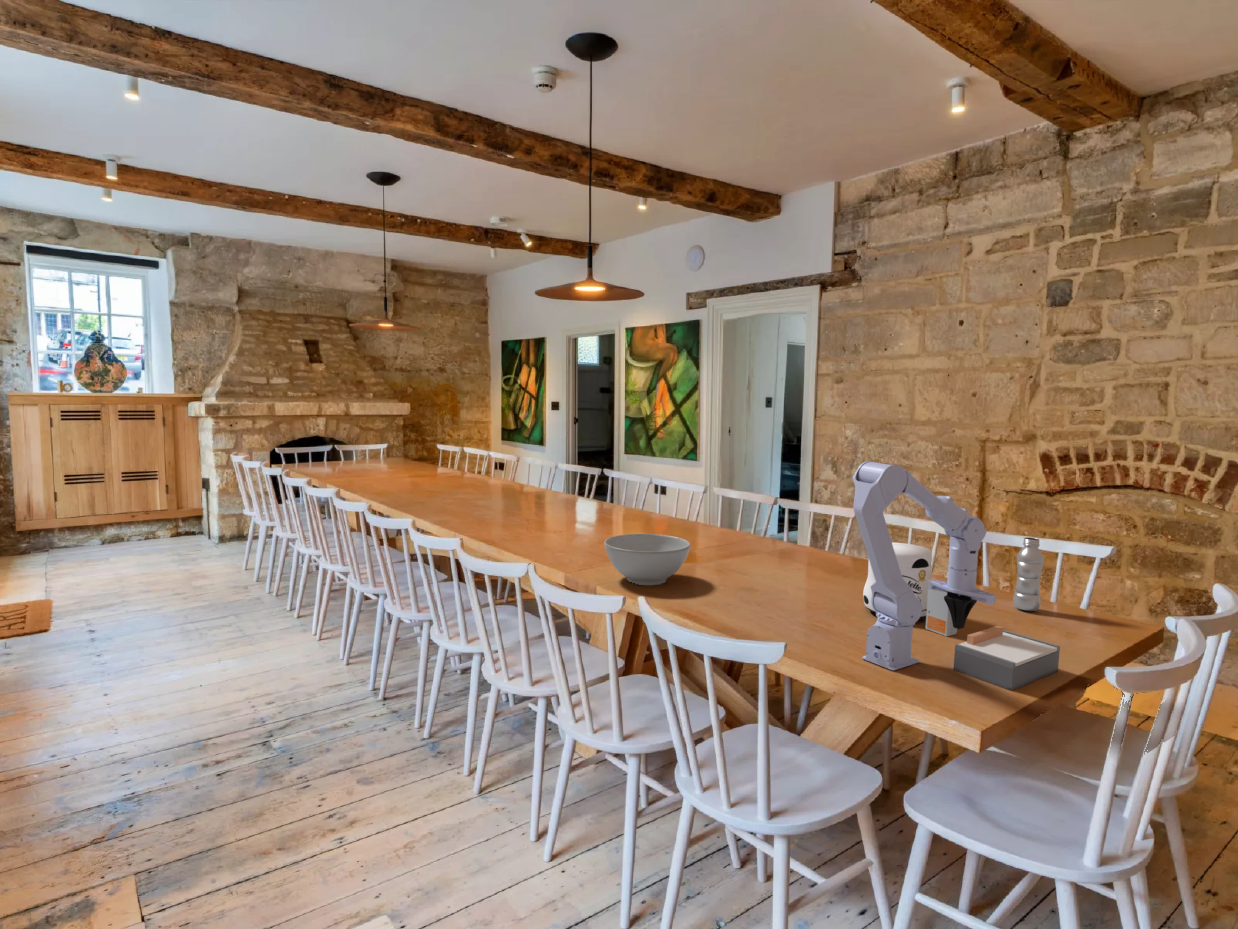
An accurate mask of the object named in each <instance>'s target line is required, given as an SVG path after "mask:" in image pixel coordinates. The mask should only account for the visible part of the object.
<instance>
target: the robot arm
mask: <svg viewBox="0 0 1238 929" xmlns="http://www.w3.org/2000/svg"><path fill="white" fill-rule="evenodd" d="M852 481H853V484H854V487H855V488H854V496H853V498H854V499H853V512H854V515H855V519H856V522H857V525H858V529H859V531H860V535H861V538H862V541H863V544H864V547H865V550H866V554H867V557H868V561H870V564H871V568H872V571H873V574H874V577H875V580H876V581H875V582H874V583H873V584H872V585H871V591H872V598H871V603H872V607H873V608H874V610H876V614H875V616H876V617H877V618H876V622H875V623H874V624H873V625H872V626H870V627H869V628H868V630H867V632H866V644H865V649H866V650H865V655H863V656H862V657H861V658H862V660H865V661H867V662H870V663H873V664H876V665H878V666H880V667H883V668H886V669H888V670H890V671H896V670H900V669H902V668H905V667H908V666H912V665H915V664H918V663H920V659H918V658H916V657H913V656H912V644H913V630H914V626H915V625H916V623H917V622H918V621H919V620H920V619H919V618H920V616H921V613H922V605H921V602H920V601H919V600H918V599H917V598H916V597H915V595H914V592H913V589H912V588H911V587H910V586H909V585H908V584H907V583H906V581H905V580H904V579H903V578H902V575H901V571H900V568H899V565H898V561H897V558H896V555H895V552H894V548H893V545H892V538H891V535H890V532H889V529H888V526H887V522H886V519H885V515H884V512H885V511H884V510H885V509H886V508H887V507H889V506H890V505H891V504H892V502H893V501H894V500H896V498H898V496H899V495H901V493H903V495H904V496H905V495H906V496H907V497H908V498H910V499H911V500H913V501H914V502H916V503H917V504H919V505H920V506H922V507H923V508H925V514H926V516H927V517H928V518H929V519H930V520H932V521H933V522H934V523H935V524H937V525H938V526H940V527H941V528H942V529H943V531H944V533H945V535H946V536H947V537H950V538H949V552H948V553H949V554H948V567H947V568H948V569H947V581H942V580H938V579H931V580H929V585H928V589H932V590H933V589H935V590H939V591H943V592H947V596H944V600H945V602H946V604H947V606H948V608H949V611H950V614H951V618H952V623H953V627H954V628H957V630H961V629H963V628H965V625H966V621H967V619H968V616H969V614H970V613H971V612H972V611H971V610H972V609H973V607H974V606H975V605H976V603H977V602H980V603H981V602H982V603H985V604H986V605H990V606H991V605H994V604H996V601H997V600H996V599H997V595H996V594H993V593H990V592H987V591H986V590H985V591H984V590H983V589H980V588H977V572H978V560H979V559H978V557H979V550H980V549H981V548H982V547H981V546H982V541H983V540H984V539H985V537H986V534H987V529H986V526H985V524H984V523H983V521H982V520H981V519H980V518H979V517H976V516H974V515H973V516H972V515H970V514H969V513H968V509H966V508H962V507H960V506H959V505H958V504H956V503H955V502H954V501H955V499H954V498H953V497H951V496H947V495H935V494H934V493H933V491H931V490H930V489H928V488H927V487H926V486H925V485H924V484H923V483H921V481H919V480H918V479H916V477H914V476H913V474H912V472H911V471H909V470H907V469H904V467H902V466H901V465H899V464H889V463H888V464H887V463H882V462H876V461H873V460H866V461H864V462H862V463H861V464H860V465H859V466H858V468H857V469H856V471H855V473H854V475H852Z"/></svg>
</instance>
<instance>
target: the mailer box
mask: <svg viewBox="0 0 1238 929" xmlns="http://www.w3.org/2000/svg"><path fill="white" fill-rule="evenodd" d="M1003 632H1005V633H1008V634H1012V635H1015V636H1019V637H1022V638H1026V639H1029V640H1032V641H1036V642H1039V643H1043V644H1046V645H1050V646H1053V647H1056V648H1057V651H1056V652H1053V653H1050V654H1048V655H1045V656H1043V657H1040V658H1037V659H1035V660H1032V661H1029V662H1027V663H1024V664H1022V665H1019V666H1015V662H1012V661H1009V660H1006V659H1003V658H1000V657H996V656H993V655H990V654H987V653H984V652H981V651H978V650H975V649H972V648H969V647H966V646H962V645H959V644H960V643H955V644H954V656H953V657H954V658H953V671H955V672H959V673H961V674H964V675H967V676H970V677H972V678H975V679H978V680H980V681H983V682H986V683H989V684H992V685H994V686H998V687H1000V688H1002V689H1005V690H1009V691H1010V692H1011V691H1012V692H1013V691H1014V690H1016V689H1019V688H1021V687H1023V686H1026V685H1030V684H1031V683H1033V682H1036V681H1038V680H1040V679H1042V678H1045V677H1048V676H1050V675H1053V674H1055V673H1058V672H1059V663H1060V662H1059V661H1060V650H1061V646H1060V645H1058V644H1054V643H1051V642H1048V641H1044V640H1042V639H1037V638H1034V637H1031V636H1026V635H1023V634H1020V633H1016V632H1013V631H1009V630H1006V629H1003Z"/></svg>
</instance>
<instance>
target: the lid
mask: <svg viewBox="0 0 1238 929" xmlns="http://www.w3.org/2000/svg"><path fill="white" fill-rule="evenodd" d="M1003 630H1004V627H1003V626H1000V625H996V626H992V627H989V628H987V629H982V630H979V631H977V632H973V633H970V634H967V637H966V641H963V642H961V643H958V644H959V645H962V646H966V647H969V648H972V649H975V650H978V651H981V652H984V653H987V654H990V655H993V656H996V657H1000V658H1003V659H1006V660H1009V661H1012V662H1015V666H1019V665H1022V664H1024V663H1027V662H1029V661H1032V660H1035V659H1037V658H1040V657H1043V656H1045V655H1048V654H1050V653H1053V652H1056V651H1057V648H1056V647H1053V646H1050V645H1046V644H1043V643H1039V642H1036V641H1032V640H1029V639H1026V638H1022V637H1019V636H1015V635H1012V634H1008V633H1005V632H1003Z"/></svg>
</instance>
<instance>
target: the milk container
mask: <svg viewBox="0 0 1238 929" xmlns="http://www.w3.org/2000/svg"><path fill="white" fill-rule="evenodd" d="M891 542H892V541H891ZM892 545H893V548H894V552H895V555H896V558H897V561H898V565H899V568H900V571H901V575H902V578H903V579H904V580H905V581H906V583H907V584H908V585H909V586H910V587H911V588H912V589H913V592H914V595H915V597H916V598H917V599H918V600H919V601H920V602H921V605H922V613H921V616H920V618H919V619H918V620H920V619H923V618H926V613H927V599H928V585H929V580H932V578H931V577H932V568H933V566H932V562H933V560H932V559H933V556H932V555H933V554H932V550H931V549H930V548H927V547H925V546H922V545H917V544H913V543H904V542H892ZM867 566H868V567H867V568H868V569H867V577H866V581H865V583H864V584H865V585H864V587H863V591H862V597H863V603H864V606H865V607H866V609H868V610H869V611H870V612H872V613H873V614H875V615H876V610H874V608H873V607H872V603H871V598H872V591H871V585H872V584H873V583H874V582H875V581H876V580H875V577H874V574H873V571H872V568H871V564H870V561H869V560H868V565H867Z"/></svg>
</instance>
